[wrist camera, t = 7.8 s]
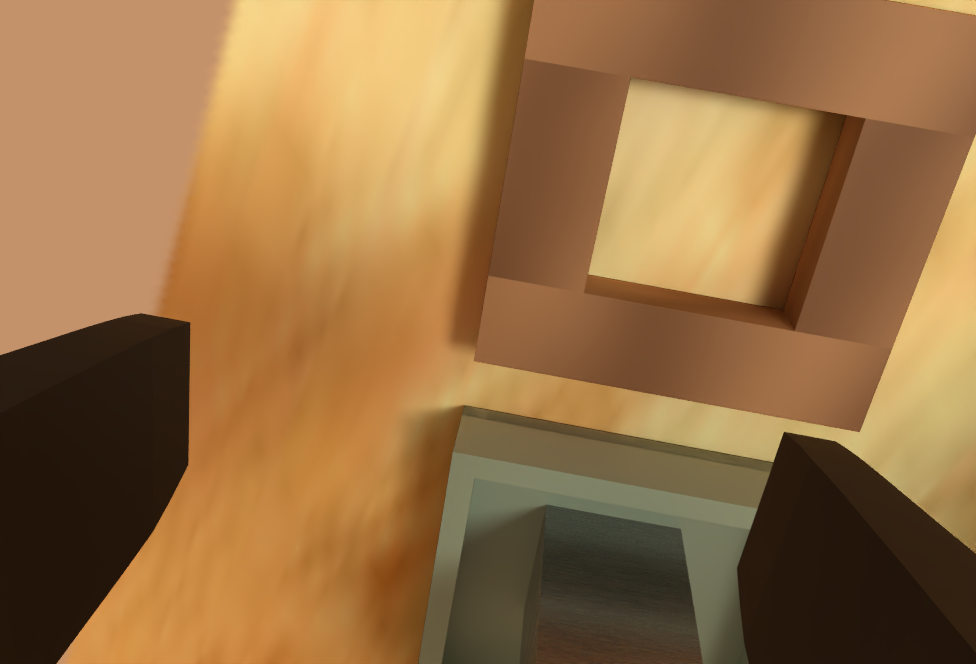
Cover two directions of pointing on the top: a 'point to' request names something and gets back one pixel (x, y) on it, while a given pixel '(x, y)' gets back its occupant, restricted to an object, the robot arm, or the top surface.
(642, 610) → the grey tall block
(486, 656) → the tray
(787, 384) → the collar
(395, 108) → the top surface
